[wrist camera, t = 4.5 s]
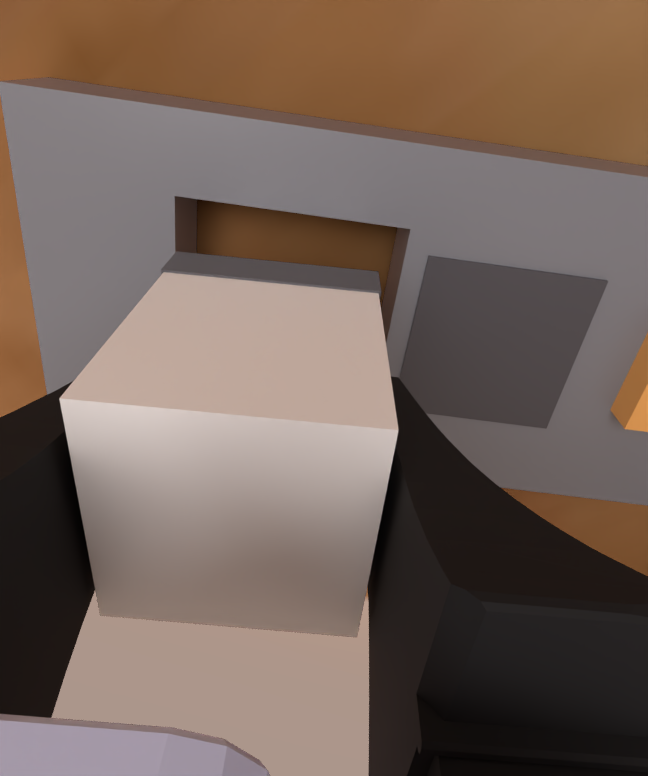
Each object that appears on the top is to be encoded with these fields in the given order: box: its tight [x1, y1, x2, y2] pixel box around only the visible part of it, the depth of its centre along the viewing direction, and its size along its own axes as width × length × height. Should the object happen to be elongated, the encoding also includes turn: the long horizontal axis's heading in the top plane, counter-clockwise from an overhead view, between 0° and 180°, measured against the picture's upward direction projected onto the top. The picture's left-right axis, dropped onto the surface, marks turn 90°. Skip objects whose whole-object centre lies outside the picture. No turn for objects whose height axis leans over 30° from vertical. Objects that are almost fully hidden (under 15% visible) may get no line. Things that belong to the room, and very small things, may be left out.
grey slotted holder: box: [0, 77, 648, 505], centre depth 16 cm, size 20×10×4 cm, turn 83°
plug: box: [59, 251, 399, 637], centre depth 11 cm, size 4×4×6 cm
